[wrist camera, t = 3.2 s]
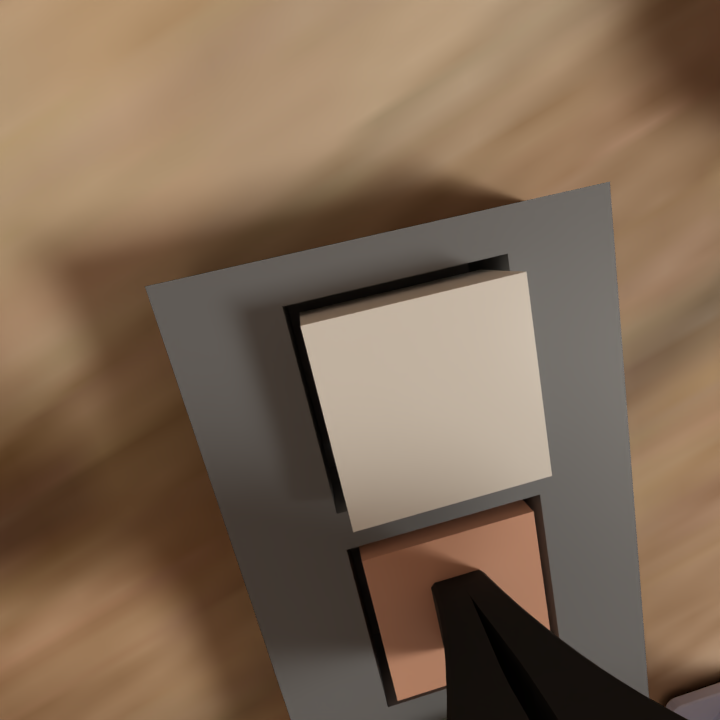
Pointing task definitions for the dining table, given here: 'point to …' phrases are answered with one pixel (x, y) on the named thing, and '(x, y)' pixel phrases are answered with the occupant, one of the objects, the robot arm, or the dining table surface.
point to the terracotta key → (440, 562)
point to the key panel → (341, 545)
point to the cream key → (430, 393)
